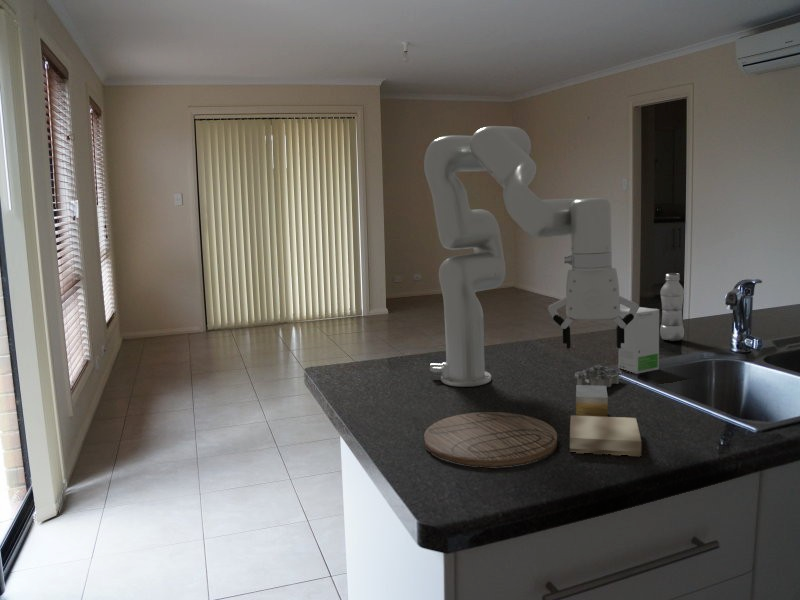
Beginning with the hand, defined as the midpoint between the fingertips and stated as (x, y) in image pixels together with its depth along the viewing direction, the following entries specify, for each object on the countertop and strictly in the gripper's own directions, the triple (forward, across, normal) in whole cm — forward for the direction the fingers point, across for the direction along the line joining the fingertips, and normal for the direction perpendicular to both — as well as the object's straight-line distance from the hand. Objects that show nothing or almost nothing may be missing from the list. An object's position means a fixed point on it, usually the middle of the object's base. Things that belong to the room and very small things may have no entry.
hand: (593, 347), depth 132 cm
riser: (+15, +1, -12) cm, 20 cm away
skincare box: (+15, +11, +40) cm, 44 cm away
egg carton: (+15, +1, +26) cm, 30 cm away
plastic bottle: (+15, +23, +72) cm, 78 cm away
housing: (+15, -1, 0) cm, 15 cm away
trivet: (+16, -19, -14) cm, 29 cm away
